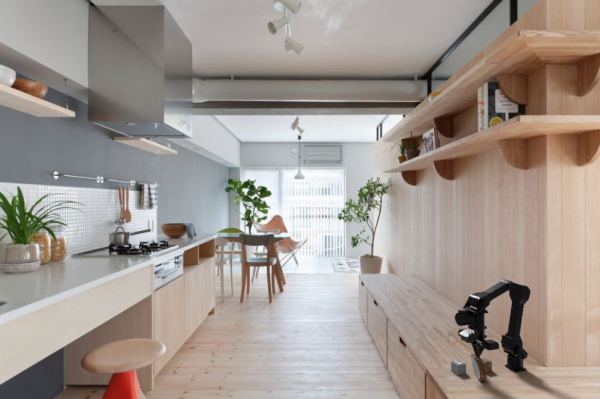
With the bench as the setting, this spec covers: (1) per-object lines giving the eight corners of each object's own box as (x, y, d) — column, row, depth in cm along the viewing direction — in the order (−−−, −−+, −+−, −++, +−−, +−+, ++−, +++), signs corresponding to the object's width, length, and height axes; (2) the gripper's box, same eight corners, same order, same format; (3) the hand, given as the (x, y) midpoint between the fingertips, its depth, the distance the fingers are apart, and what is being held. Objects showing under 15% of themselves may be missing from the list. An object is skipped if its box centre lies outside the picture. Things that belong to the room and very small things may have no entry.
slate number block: (459, 369, 170) (458, 359, 170) (466, 373, 166) (466, 363, 166) (451, 370, 169) (451, 360, 169) (458, 375, 164) (458, 365, 164)
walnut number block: (484, 366, 172) (484, 356, 172) (492, 371, 168) (491, 360, 168) (476, 368, 171) (476, 358, 171) (484, 372, 167) (484, 362, 167)
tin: (487, 384, 156) (486, 365, 156) (479, 384, 156) (479, 364, 156) (477, 368, 170) (477, 350, 170) (470, 368, 171) (469, 350, 171)
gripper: (448, 318, 170) (448, 351, 170) (479, 332, 152) (479, 369, 152) (467, 316, 173) (467, 348, 173) (500, 329, 155) (500, 365, 155)
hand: (477, 357), depth 163 cm, fingers closed, pressing on tin
